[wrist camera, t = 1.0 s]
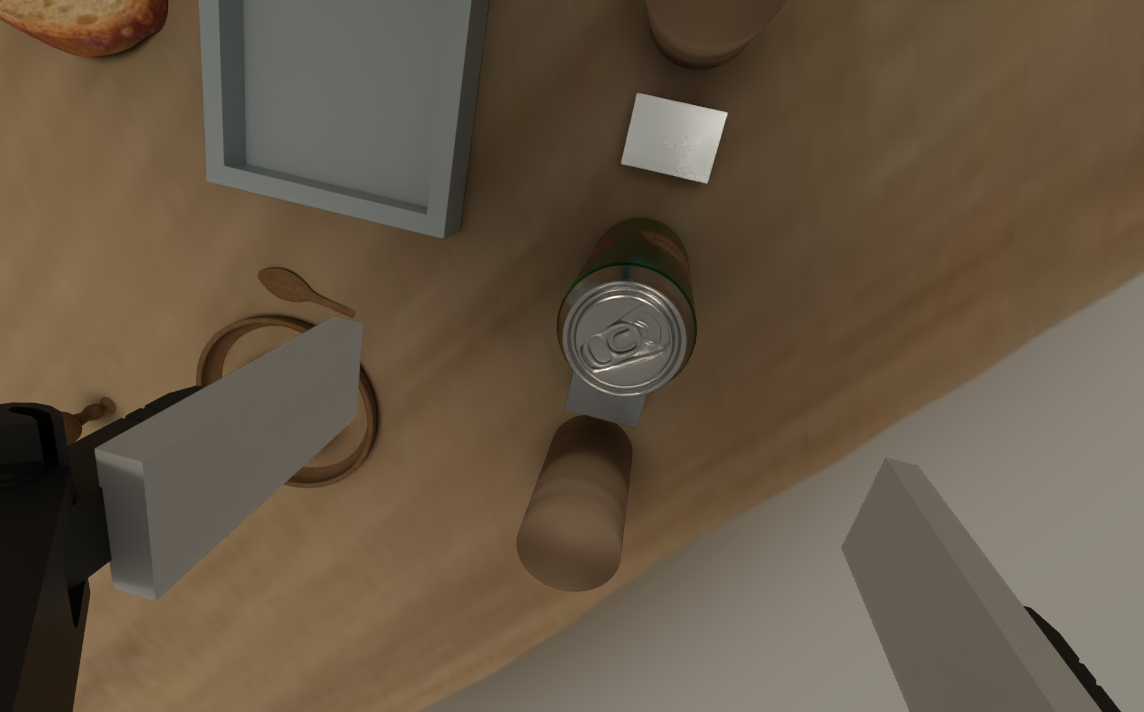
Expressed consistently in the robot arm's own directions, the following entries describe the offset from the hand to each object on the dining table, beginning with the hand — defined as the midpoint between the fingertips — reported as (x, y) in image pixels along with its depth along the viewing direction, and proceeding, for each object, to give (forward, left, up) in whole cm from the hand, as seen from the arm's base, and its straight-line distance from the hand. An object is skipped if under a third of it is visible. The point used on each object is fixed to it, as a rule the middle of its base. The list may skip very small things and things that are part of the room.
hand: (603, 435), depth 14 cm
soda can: (0, 0, -18) cm, 18 cm away
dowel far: (+12, 0, -18) cm, 22 cm away
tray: (-6, -17, -18) cm, 25 cm away
